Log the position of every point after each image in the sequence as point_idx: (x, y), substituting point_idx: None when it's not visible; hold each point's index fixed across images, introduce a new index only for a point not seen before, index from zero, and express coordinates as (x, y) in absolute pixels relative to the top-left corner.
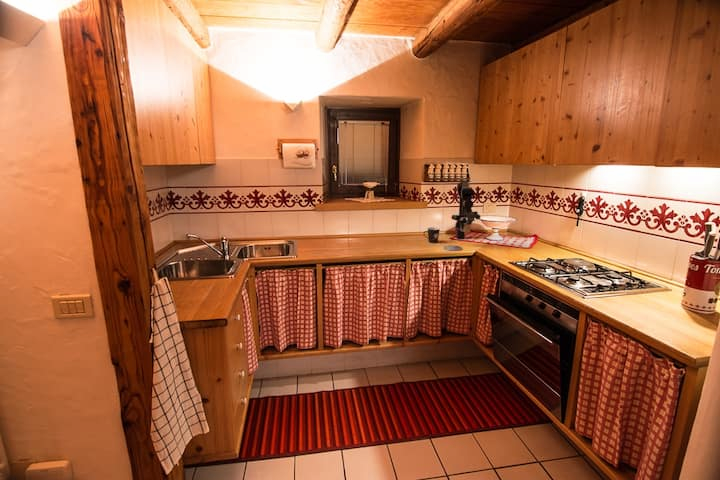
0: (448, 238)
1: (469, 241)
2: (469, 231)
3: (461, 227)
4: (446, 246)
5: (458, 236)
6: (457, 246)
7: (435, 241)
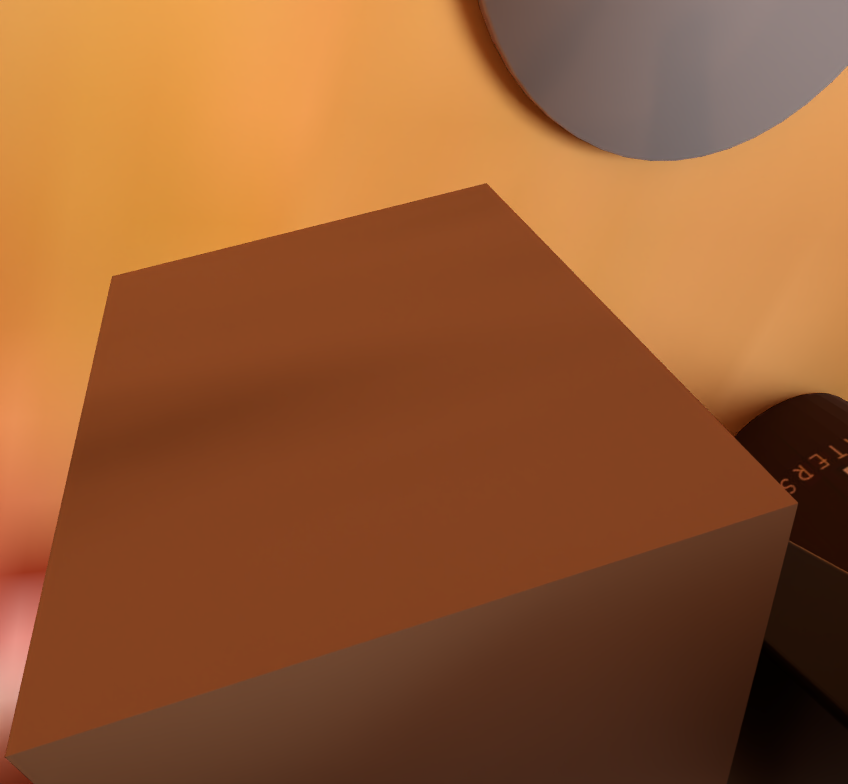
0: None
1: None
2: (162, 281)
3: None
4: (802, 51)
5: None
6: (541, 21)
7: (813, 416)
